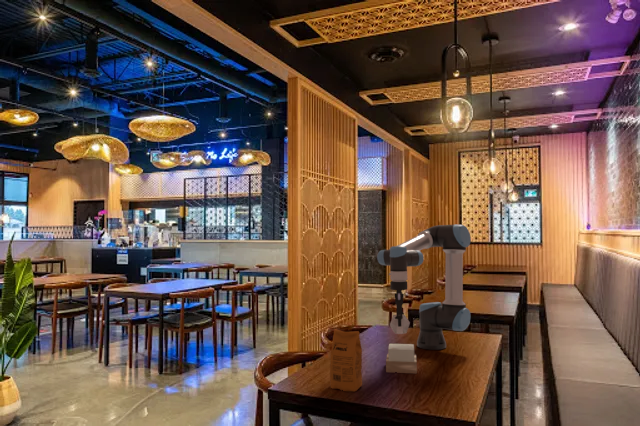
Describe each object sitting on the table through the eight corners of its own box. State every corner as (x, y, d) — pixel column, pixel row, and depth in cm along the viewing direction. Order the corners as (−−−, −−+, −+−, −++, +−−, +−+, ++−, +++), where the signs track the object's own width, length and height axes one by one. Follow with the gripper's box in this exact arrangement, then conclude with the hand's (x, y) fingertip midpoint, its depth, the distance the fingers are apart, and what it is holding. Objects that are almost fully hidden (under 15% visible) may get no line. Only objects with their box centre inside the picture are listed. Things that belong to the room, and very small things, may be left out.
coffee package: (337, 381, 181) (337, 326, 183) (365, 386, 175) (364, 329, 177) (325, 388, 173) (325, 331, 174) (354, 393, 167) (353, 334, 168)
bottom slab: (387, 364, 206) (387, 353, 206) (416, 365, 204) (416, 354, 204) (386, 373, 193) (385, 361, 194) (416, 374, 191) (416, 362, 191)
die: (405, 337, 192) (415, 317, 196) (387, 326, 194) (397, 307, 198) (401, 340, 200) (411, 321, 203) (384, 330, 202) (394, 311, 205)
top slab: (389, 354, 205) (389, 343, 205) (414, 355, 203) (413, 344, 203) (388, 361, 194) (388, 349, 194) (414, 362, 192) (414, 350, 192)
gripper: (390, 278, 212) (391, 326, 210) (389, 282, 190) (390, 336, 189) (407, 278, 210) (408, 327, 209) (407, 283, 189) (408, 337, 187)
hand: (399, 331), depth 199 cm, fingers closed on die, 9 cm apart
